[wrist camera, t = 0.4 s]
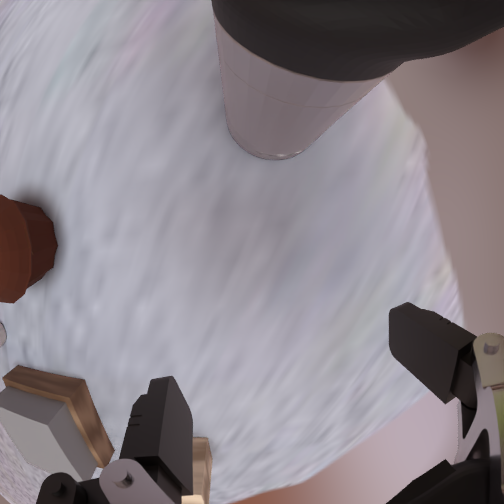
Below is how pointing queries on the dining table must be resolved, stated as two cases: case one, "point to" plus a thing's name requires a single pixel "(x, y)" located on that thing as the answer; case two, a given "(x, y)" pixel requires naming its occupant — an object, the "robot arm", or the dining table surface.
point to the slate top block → (45, 434)
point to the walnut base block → (76, 401)
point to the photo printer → (2, 335)
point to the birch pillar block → (200, 472)
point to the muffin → (23, 247)
